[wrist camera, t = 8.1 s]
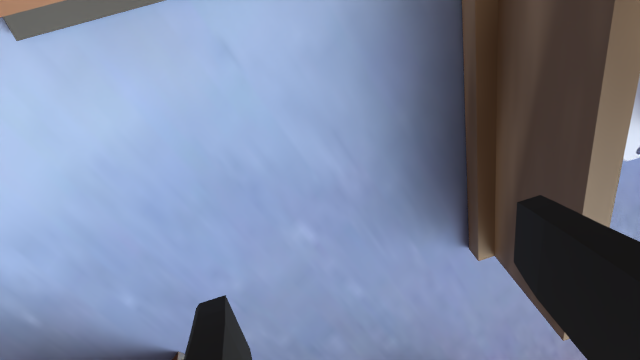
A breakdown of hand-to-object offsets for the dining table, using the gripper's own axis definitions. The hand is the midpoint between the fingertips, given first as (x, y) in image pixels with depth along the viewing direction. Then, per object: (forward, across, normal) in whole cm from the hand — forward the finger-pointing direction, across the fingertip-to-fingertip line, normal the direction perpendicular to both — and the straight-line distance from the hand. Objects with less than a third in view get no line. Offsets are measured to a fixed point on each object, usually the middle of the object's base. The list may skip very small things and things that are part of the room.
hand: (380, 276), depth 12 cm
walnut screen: (+9, -8, 0) cm, 13 cm away
